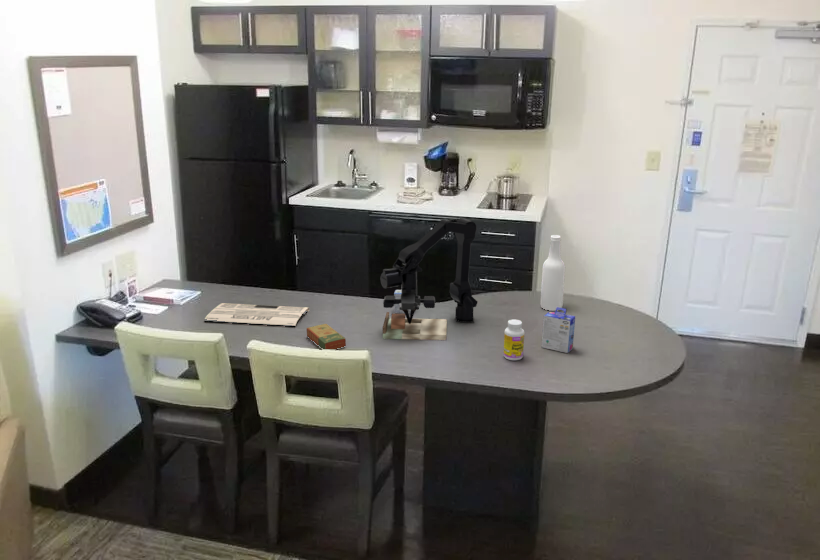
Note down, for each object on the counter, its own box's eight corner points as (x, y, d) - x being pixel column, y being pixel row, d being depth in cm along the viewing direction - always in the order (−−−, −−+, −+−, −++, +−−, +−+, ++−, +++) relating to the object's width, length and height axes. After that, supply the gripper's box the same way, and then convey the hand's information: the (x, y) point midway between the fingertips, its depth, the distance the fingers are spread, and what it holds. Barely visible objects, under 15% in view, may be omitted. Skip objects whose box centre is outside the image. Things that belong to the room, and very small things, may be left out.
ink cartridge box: (573, 348, 234) (576, 309, 229) (568, 354, 230) (571, 314, 225) (546, 342, 239) (549, 304, 234) (541, 347, 235) (543, 309, 230)
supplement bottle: (509, 362, 224) (511, 327, 220) (499, 354, 229) (501, 320, 225) (526, 358, 226) (528, 323, 222) (516, 351, 232) (518, 317, 228)
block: (405, 323, 251) (405, 313, 250) (404, 328, 246) (404, 318, 245) (392, 323, 251) (391, 313, 250) (391, 328, 247) (391, 318, 245)
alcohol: (539, 303, 276) (543, 232, 266) (561, 304, 275) (566, 233, 265) (540, 311, 267) (544, 238, 258) (563, 312, 266) (568, 239, 257)
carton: (327, 333, 249) (326, 322, 248) (346, 348, 236) (346, 337, 235) (306, 338, 245) (306, 327, 244) (325, 354, 232) (324, 342, 231)
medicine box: (415, 310, 270) (414, 289, 267) (414, 314, 266) (413, 293, 263) (395, 309, 271) (395, 289, 268) (394, 313, 267) (393, 293, 264)
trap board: (446, 324, 256) (446, 313, 254) (446, 340, 242) (446, 328, 240) (386, 322, 257) (386, 312, 256) (382, 338, 243) (382, 327, 242)
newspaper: (309, 311, 271) (309, 305, 270) (294, 330, 252) (293, 324, 252) (223, 307, 276) (222, 301, 275) (202, 325, 258) (201, 318, 257)
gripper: (381, 290, 236) (382, 331, 242) (434, 291, 235) (434, 332, 240) (384, 280, 247) (385, 320, 252) (435, 281, 246) (435, 320, 251)
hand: (409, 323), depth 249 cm, fingers closed
